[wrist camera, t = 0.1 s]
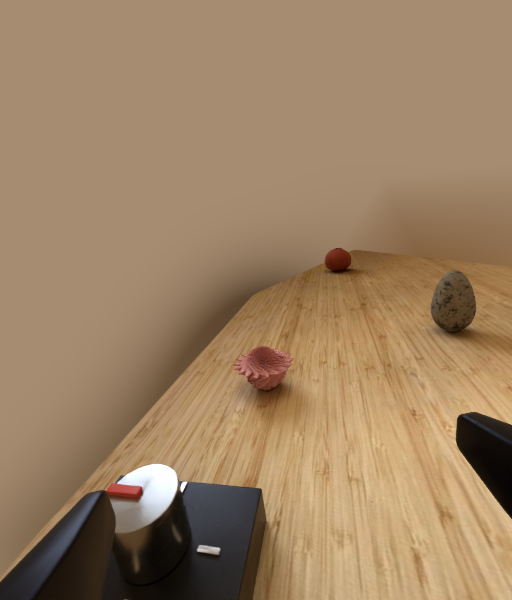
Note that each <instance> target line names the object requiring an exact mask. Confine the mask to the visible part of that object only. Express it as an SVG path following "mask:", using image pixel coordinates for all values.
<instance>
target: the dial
mask: <svg viewBox="0 0 512 600" xmlns="http://www.w3.org/2000/svg"><path fill="white" fill-rule="evenodd" d="M106 492H107V493H108V495H109V498H110V501H111V504H112V507H113V509H114V512H115V516H116V527H115V533H114V538H113V543H112V548H111V549H112V551H113V554H114V557H115V559H116V562H117V565H118V567H119V570H120V573H121V575H122V576H123V578H124V579H126V580H127V581H128V582H130V583H133V584H137V585H143V584H149V583H152V582H155V581H157V580H159V579H161V578H162V577H164V576H165V575H167V574H168V573H169V572H170V571H171V570H172V569H173V568H174V567H175V566H176V565H177V564H178V563H179V561H180V560H181V558H182V557H183V555H184V553H185V551H186V549H187V547H188V544H189V540H190V534H191V528H190V523H189V519H188V515H187V511H186V507H185V503H184V499H183V495H182V492H181V488H180V484H179V480H178V477H177V474H176V472H175V471H174V470H173V469H172V468H170V467H168V466H166V465H162V464H153V465H147V466H144V467H141V468H139V469H136V470H134V471H133V472H131V473H129V474H128V475H126V476H125V477H123V478H122V479H121V480H120V481H119V482H118V483H117V484H114V483H112V484H111V485H110V487H109V488H108V489H107V491H106Z"/></svg>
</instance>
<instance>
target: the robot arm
mask: <svg viewBox="0 0 512 600" xmlns="http://www.w3.org/2000/svg"><path fill="white" fill-rule="evenodd" d="M456 443H457V446H458V448H459V450H460V452H461V453H462V454H463V456H464V457H465V458H466V460H467V461H468V462H469V464H470V465H471V466H472V468H473V469H474V470H475V472H476V473H477V474H478V476H479V477H480V478H481V480H482V481H483V482H484V484H485V485H486V487H487V488H488V489H489V491H490V492H491V493H492V495H493V496H494V497H495V499H496V500H497V501H498V503H499V504H500V505H501V506H502V508H503V509H504V510H505V512H506V513H507V514H508V515H509V516H510V518H511V519H512V425H510V424H507V423H505V422H502V421H499V420H496V419H494V418H491V417H488V416H485V415H482V414H480V413H477V412H470V413H465V414H461V415H459V416H458V418H457V429H456ZM115 527H116V516H115V512H114V509H113V507H112V504H111V501H110V498H109V495H108V493H107V492H106V491H105V490H101V491H96V492H91V493H88V494H86V495H85V496H84V497H83V498H82V499H81V500H80V501H79V502H78V503H77V504H76V505H75V506H74V507H73V508H72V509H71V510H70V511H69V512H68V513H67V514H66V515H65V516H64V517H63V518H62V519H61V520H60V521H59V522H58V523H57V524H56V525H55V526H54V527H53V528H52V529H51V530H50V531H49V532H48V533H47V535H46V536H45V537H44V538H43V539H42V540H41V541H40V542H39V543H38V544H37V545H36V546H35V547H34V548H33V549H32V550H31V551H30V552H29V553H28V554H27V555H26V556H25V557H24V558H23V559H22V560H21V561H20V562H19V563H18V564H17V565H16V566H15V567H14V568H13V569H12V570H11V571H10V572H9V573H8V574H7V575H6V577H5V578H4V579H3V580H2V581H1V582H0V600H102V595H103V590H104V585H105V580H106V574H107V569H108V564H109V559H110V554H111V548H112V543H113V538H114V533H115Z"/></svg>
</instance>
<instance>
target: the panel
mask: <svg viewBox="0 0 512 600" xmlns="http://www.w3.org/2000/svg"><path fill="white" fill-rule="evenodd" d="M123 477H125V476H122V475H121V476H120V477H119V479H118V480H117V481H116V483H115V484H117V483H118V482H119V481H120V480H121V479H122V478H123ZM179 484H180V488H181V492H182V495H183V499H184V503H185V507H186V511H187V515H188V519H189V523H190V528H191V534H190V540H189V544H188V547H187V549H186V551H185V553H184V555H183V557H182V558H181V560H180V561H179V563H178V564H177V565H176V566H175V567H174V568H173V569H172V570H171V571H170V572H169V573H168V574H167V575H165V576H164V577H162V578H161V579H159V580H157V581H155V582H152V583H149V584H143V585H137V584H133V583H130V582H128V581H127V580H126V579H124V578H123V576H122V575H121V573H120V570H119V567H118V565H117V562H116V559H115V557H114V554H113V551H112V549H111V554H110V559H109V564H108V569H107V574H106V580H105V585H104V590H103V595H102V600H252V597H253V592H254V586H255V580H256V575H257V569H258V563H259V558H260V552H261V546H262V541H263V535H264V529H265V524H266V514H265V508H264V502H263V495H262V489H259V488H249V487H238V486H228V485H217V484H207V483H196V482H186V481H179Z"/></svg>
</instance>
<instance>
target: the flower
mask: <svg viewBox="0 0 512 600" xmlns="http://www.w3.org/2000/svg"><path fill="white" fill-rule="evenodd" d="M249 352H250V353H249V354H248V355H242V356H244V357H243V358H241V359H236V360H237V361H240V362H239V363H237V364H234V366H239V367H238V368H236V369H234V370H239V371H240V373H239V374H240V375H246V377H247V378H248V382H251V384H254V385H253V386H254V388H255V387H258V389H264V390H265V391H266V390H267V389H268V390H269V389H272V388H273V387H276V386H277V384H281V382H282V380H283V378H284V375H286V370H288V368H289V367H290V366H291V365H292V363H291V361H292V360H293V359H294V358H289V357H290V355H291V354H287V355H285V351H282V352H280V353H279V351H278V349H275V350H274V349H271V348H269V347H267V346H266V347H265V346H262V347H261V346H260V347H257V348H255V349H253V350H252V351H249Z"/></svg>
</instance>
